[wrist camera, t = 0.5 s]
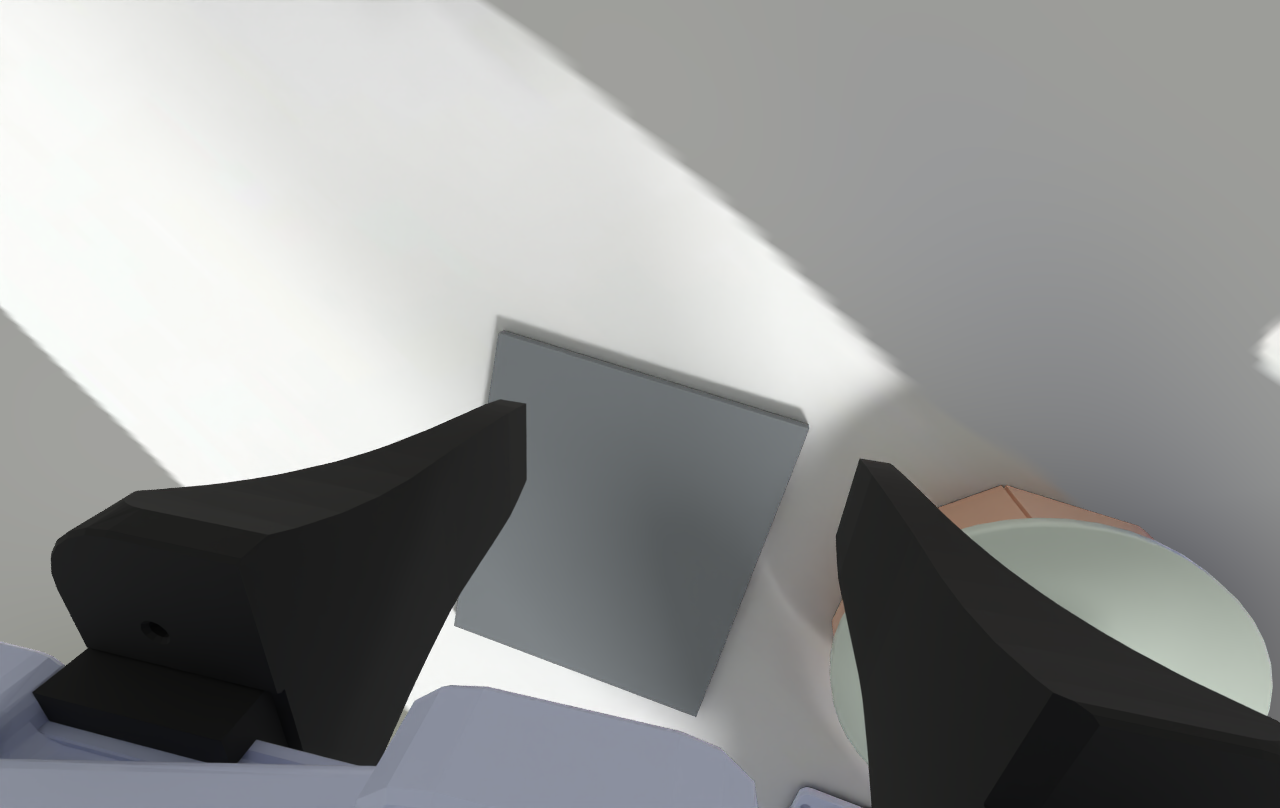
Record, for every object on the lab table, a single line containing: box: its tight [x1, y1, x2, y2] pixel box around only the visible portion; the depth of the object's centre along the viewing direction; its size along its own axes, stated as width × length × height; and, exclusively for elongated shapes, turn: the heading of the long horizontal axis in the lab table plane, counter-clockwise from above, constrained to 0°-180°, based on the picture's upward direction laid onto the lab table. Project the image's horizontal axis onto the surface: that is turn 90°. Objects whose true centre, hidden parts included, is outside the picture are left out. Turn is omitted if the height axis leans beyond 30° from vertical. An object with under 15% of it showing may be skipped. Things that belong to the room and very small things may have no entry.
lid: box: [830, 518, 1273, 764], centre depth 19 cm, size 14×14×4 cm
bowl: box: [832, 485, 1154, 635], centre depth 22 cm, size 12×12×3 cm
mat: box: [454, 331, 809, 717], centre depth 26 cm, size 16×13×1 cm
